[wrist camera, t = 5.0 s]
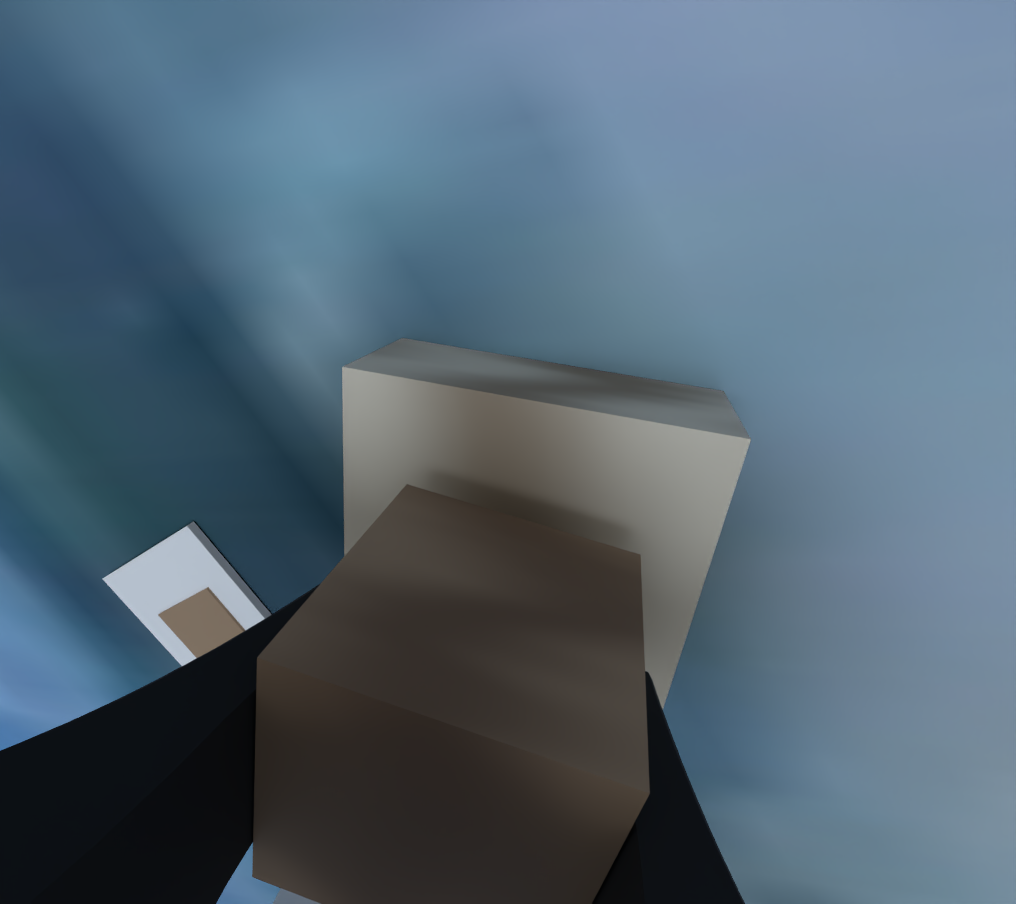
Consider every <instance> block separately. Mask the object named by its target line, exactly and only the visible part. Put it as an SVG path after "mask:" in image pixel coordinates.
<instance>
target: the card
mask: <svg viewBox="0 0 1016 904" xmlns="http://www.w3.org/2000/svg"><path fill="white" fill-rule="evenodd" d="M103 580H104V581H105V582H106V583H107V584H108V586H109V587H110V588H111V589H112V590H113V591H114V592H115V593H116V594H117V595H118V596H119V598H120V599H121V600H122V601H123V602H124V603H125V604H126V605H127V606H128V607H129V609H130V610H131V611H132V612H133V613H134V614H135V615H136V616H137V617H138V618H139V619H140V621H141V622H142V623H143V624H144V625H145V626H146V627H147V628H148V629H149V630H150V632H151V633H152V634H153V635H154V636H155V637H156V638H157V639H158V640H159V641H160V643H161V644H162V645H163V646H164V647H165V648H166V649H167V650H168V651H169V652H170V653H171V655H172V656H173V657H174V658H175V659H176V660H177V661H178V662H179V663H180V664H181V666H183V665H185V664H187V663H189V662H191V661H193V660H194V659H196V658H198V657H200V656H202V655H204V654H205V653H207V652H209V651H211V650H213V649H215V648H216V647H218V646H220V645H222V644H223V643H225V642H227V641H228V640H230V639H232V638H234V637H235V636H237V635H239V634H240V633H242V632H244V631H245V630H247V629H249V628H250V627H252V626H254V625H255V624H257V623H259V622H260V621H262V620H264V619H265V618H267V617H269V616H270V615H271V613H270V612H269V611H268V610H267V609H266V607H265V606H264V605H263V604H262V603H261V601H260V600H259V599H258V598H257V597H256V595H255V594H254V593H253V592H252V591H251V589H250V588H249V587H248V586H247V585H246V583H245V582H244V581H243V580H242V579H241V577H240V576H239V575H238V574H237V573H236V571H235V570H234V569H233V568H232V567H231V565H230V564H229V563H228V562H227V561H226V559H225V558H224V557H223V556H222V555H221V554H220V552H219V551H218V550H217V549H216V548H215V546H214V545H213V544H212V543H211V542H210V540H209V539H208V538H207V537H206V536H205V534H204V533H203V532H202V531H201V530H200V528H199V527H198V526H197V525H196V524H195V522H192V523H191V524H189V525H187V526H186V527H184V528H183V529H181V530H179V531H178V532H176V533H175V534H173V535H171V536H170V537H168V538H167V539H165V540H163V541H162V542H160V543H159V544H157V545H155V546H154V547H152V548H151V549H149V550H147V551H146V552H144V553H143V554H141V555H139V556H138V557H136V558H135V559H133V560H131V561H130V562H128V563H127V564H125V565H123V566H122V567H120V568H119V569H117V570H115V571H114V572H112V573H111V574H109V575H107V576H106V577H104V578H103Z"/></svg>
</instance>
